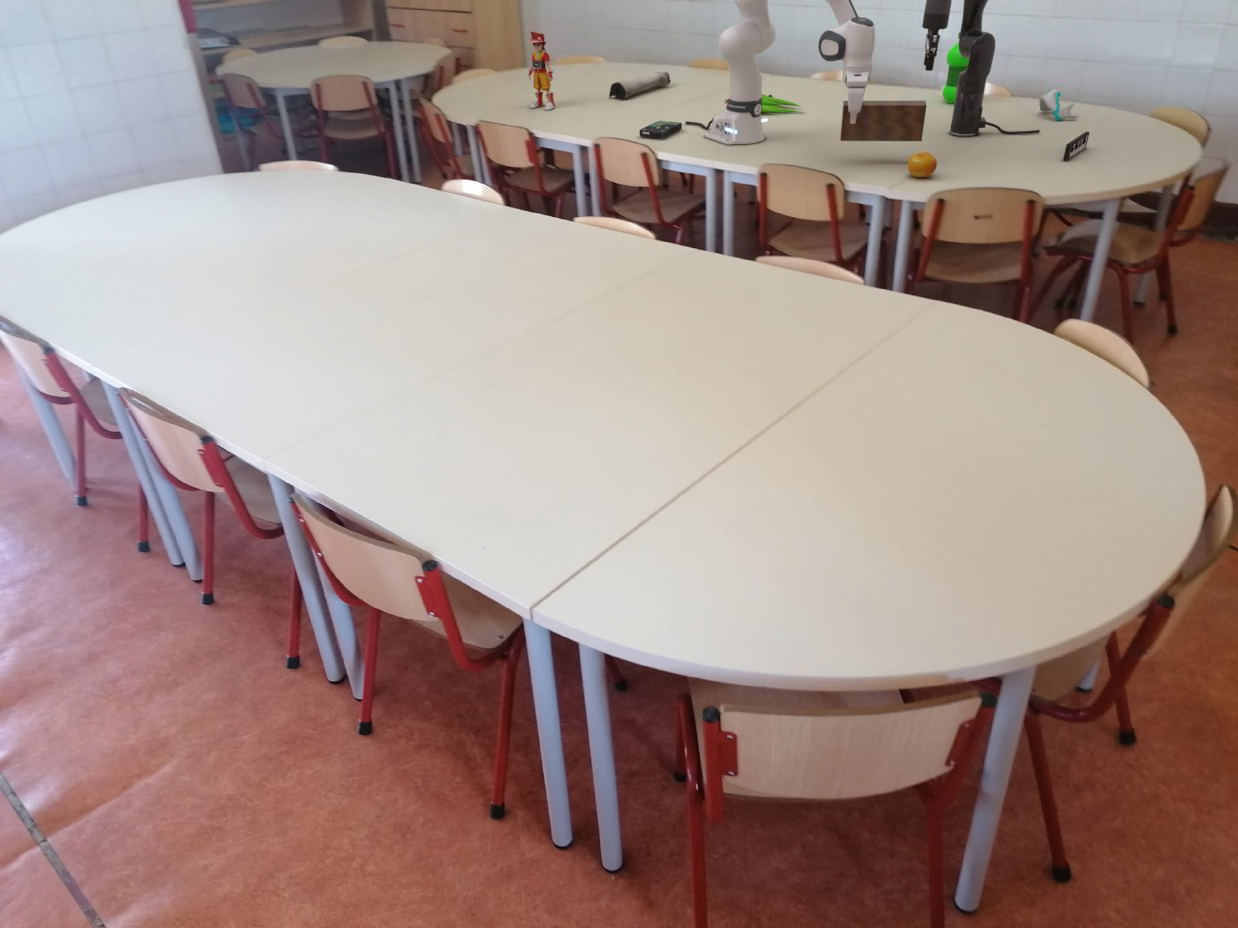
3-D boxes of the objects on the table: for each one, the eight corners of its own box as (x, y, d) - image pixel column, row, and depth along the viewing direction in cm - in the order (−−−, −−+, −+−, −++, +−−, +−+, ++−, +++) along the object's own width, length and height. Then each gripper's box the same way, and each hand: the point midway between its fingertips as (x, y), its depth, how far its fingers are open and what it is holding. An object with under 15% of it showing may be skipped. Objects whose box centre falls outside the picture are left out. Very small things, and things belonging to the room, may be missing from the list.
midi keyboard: (1067, 160, 287) (1070, 145, 284) (1062, 160, 288) (1066, 144, 285) (1086, 147, 297) (1090, 132, 294) (1082, 147, 298) (1085, 131, 295)
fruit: (901, 167, 279) (918, 144, 275) (903, 170, 286) (919, 147, 283) (924, 183, 277) (941, 160, 274) (925, 185, 285) (941, 162, 282)
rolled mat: (651, 76, 408) (662, 61, 399) (662, 93, 408) (674, 79, 400) (605, 92, 391) (616, 77, 383) (617, 110, 391) (628, 95, 383)
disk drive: (663, 140, 332) (682, 129, 342) (663, 132, 330) (682, 122, 340) (639, 137, 336) (658, 127, 346) (638, 130, 335) (658, 119, 345)
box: (920, 136, 293) (925, 100, 286) (921, 141, 288) (926, 105, 282) (840, 136, 297) (843, 101, 291) (840, 141, 293) (843, 105, 286)
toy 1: (525, 109, 381) (517, 32, 364) (534, 104, 388) (527, 28, 371) (550, 110, 377) (543, 32, 360) (559, 105, 384) (553, 28, 367)
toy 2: (719, 111, 356) (789, 123, 343) (720, 98, 353) (791, 109, 341) (748, 101, 376) (815, 112, 364) (750, 88, 374) (817, 99, 361)
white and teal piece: (1033, 88, 332) (1060, 81, 331) (1032, 116, 338) (1059, 109, 337) (1052, 98, 319) (1080, 90, 318) (1051, 127, 325) (1079, 119, 324)
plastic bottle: (973, 101, 354) (984, 32, 339) (955, 106, 349) (966, 36, 335) (952, 97, 361) (962, 29, 346) (934, 102, 356) (944, 33, 342)
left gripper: (846, 68, 292) (842, 112, 300) (846, 82, 276) (842, 128, 284) (866, 68, 291) (861, 112, 299) (867, 82, 275) (863, 128, 282)
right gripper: (952, 14, 268) (942, 73, 277) (948, 8, 279) (938, 64, 288) (925, 14, 269) (916, 72, 278) (923, 8, 281) (914, 63, 290)
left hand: (852, 120), depth 291 cm, fingers closed on box, 6 cm apart
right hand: (927, 68), depth 283 cm, fingers open, 8 cm apart
